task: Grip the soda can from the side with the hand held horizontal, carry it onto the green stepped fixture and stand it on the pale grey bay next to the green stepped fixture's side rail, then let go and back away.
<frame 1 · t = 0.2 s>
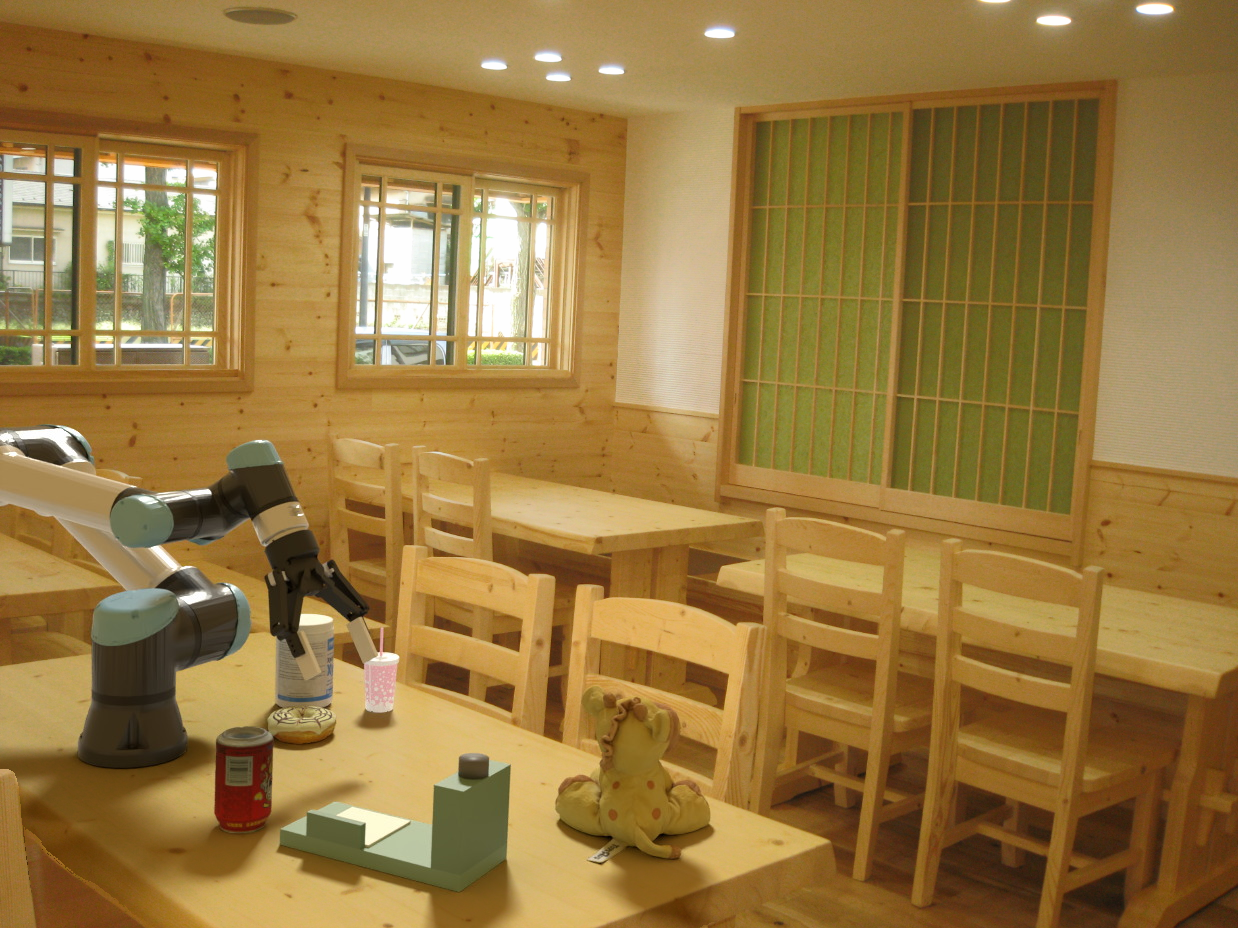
hand: (343, 667, 184), 14 cm above the table, tool tilted 35°, fingers open, 13 cm apart
supplement tub: (303, 704, 214), on the table
soda can: (242, 826, 161), on the table
beverage cup: (379, 709, 214), on the table
green stepped fixture: (392, 851, 155), on the table
decorated donut: (301, 736, 198), on the table
giraffe plush: (630, 829, 167), on the table
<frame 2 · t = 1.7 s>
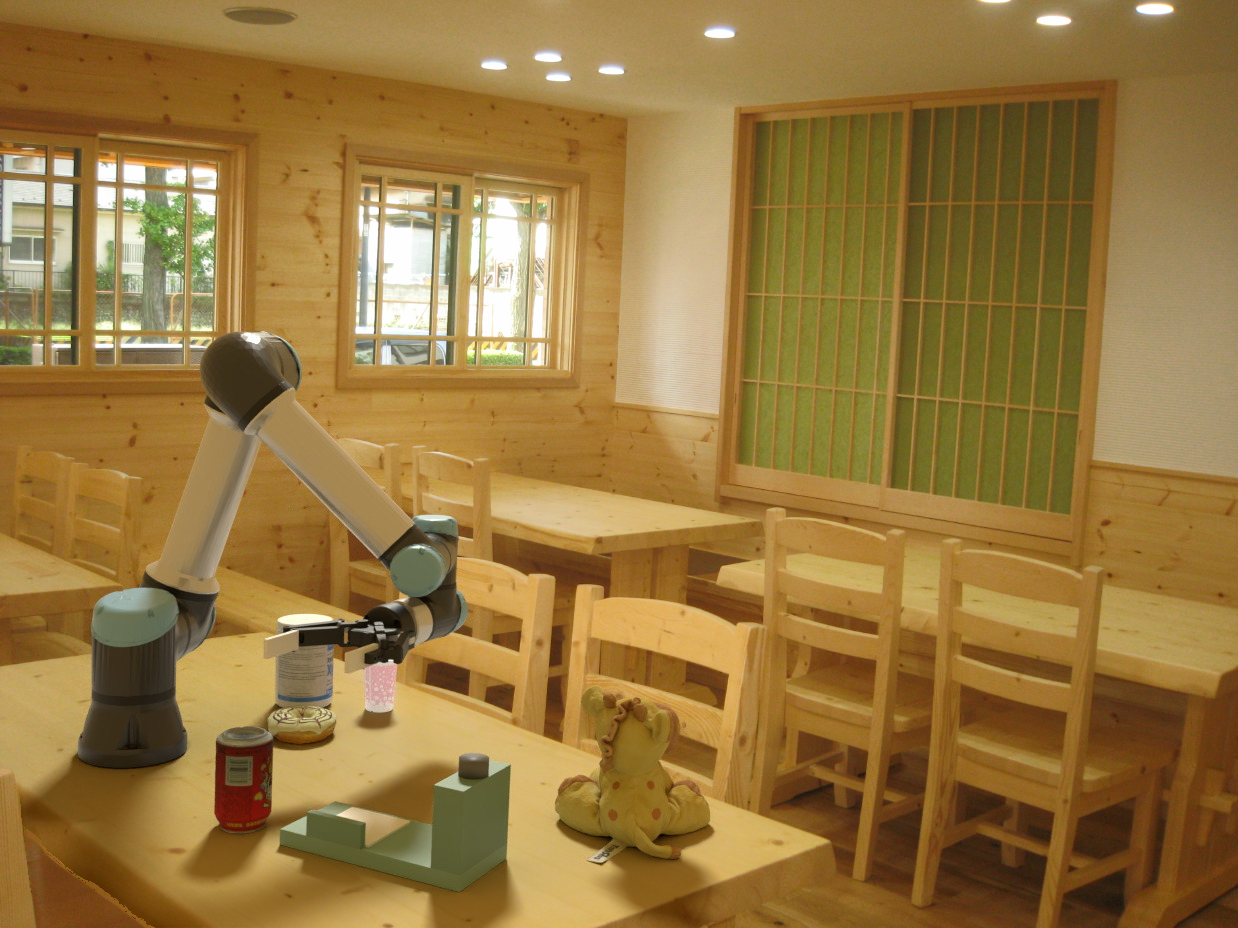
hand: (305, 655, 170), 20 cm above the table, tool horizontal, fingers open, 13 cm apart
nothing on the table moved.
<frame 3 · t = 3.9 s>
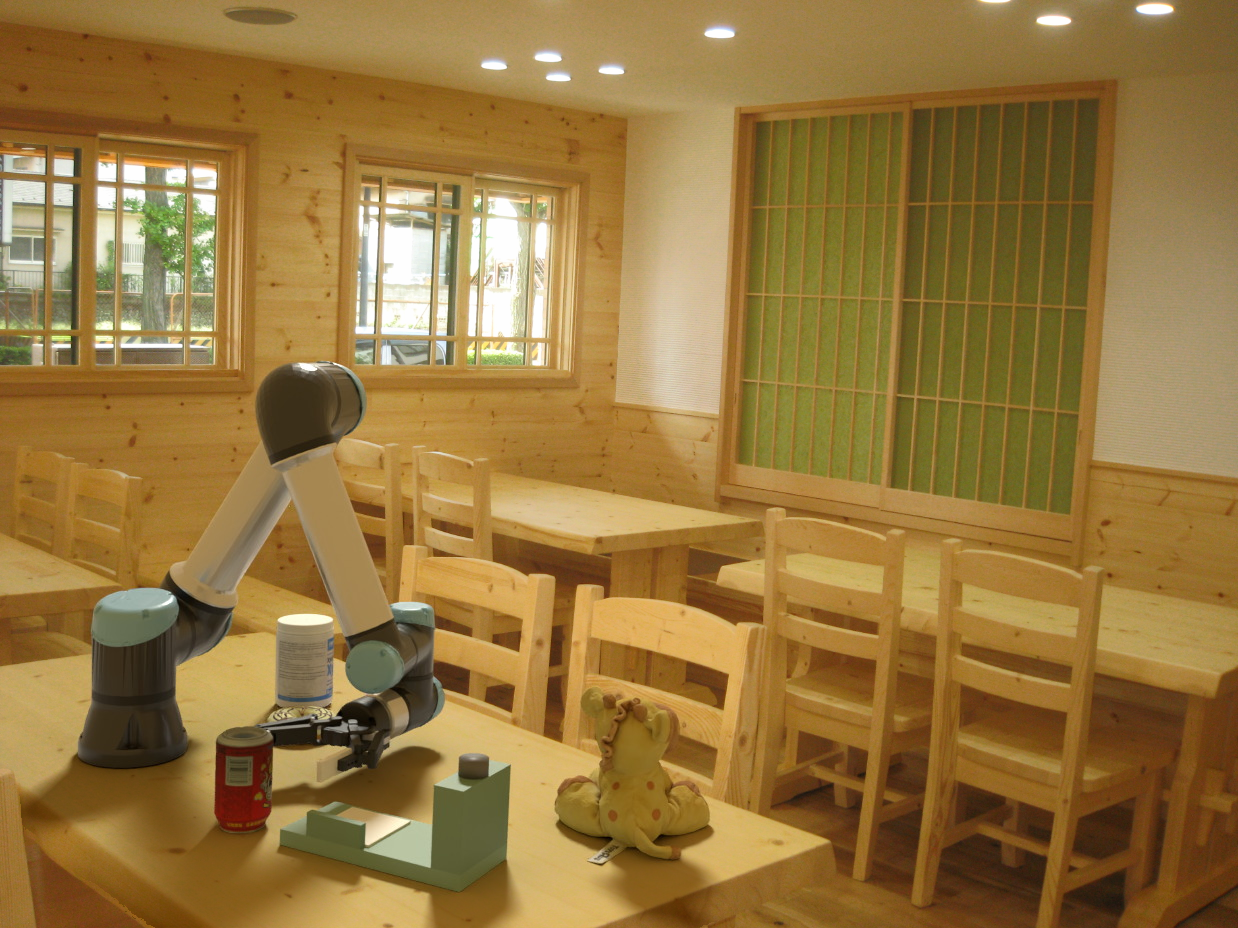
hand: (276, 762, 165), 7 cm above the table, tool horizontal, fingers open, 13 cm apart
nothing on the table moved.
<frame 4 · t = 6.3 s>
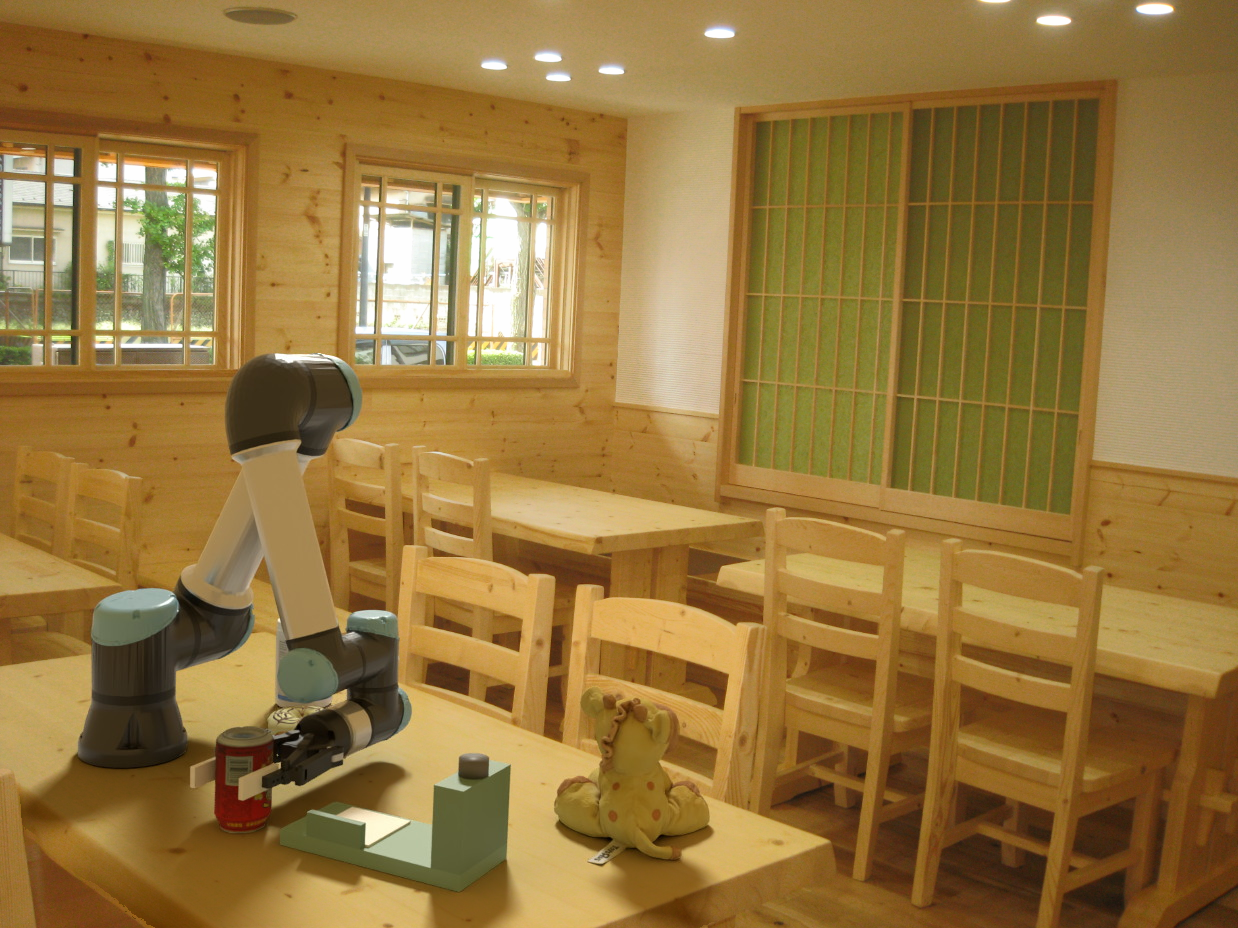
hand: (216, 783, 156), 7 cm above the table, tool horizontal, fingers closed on soda can, 7 cm apart
soda can: (242, 826, 161), on the table, touching gripper
everything else where it was.
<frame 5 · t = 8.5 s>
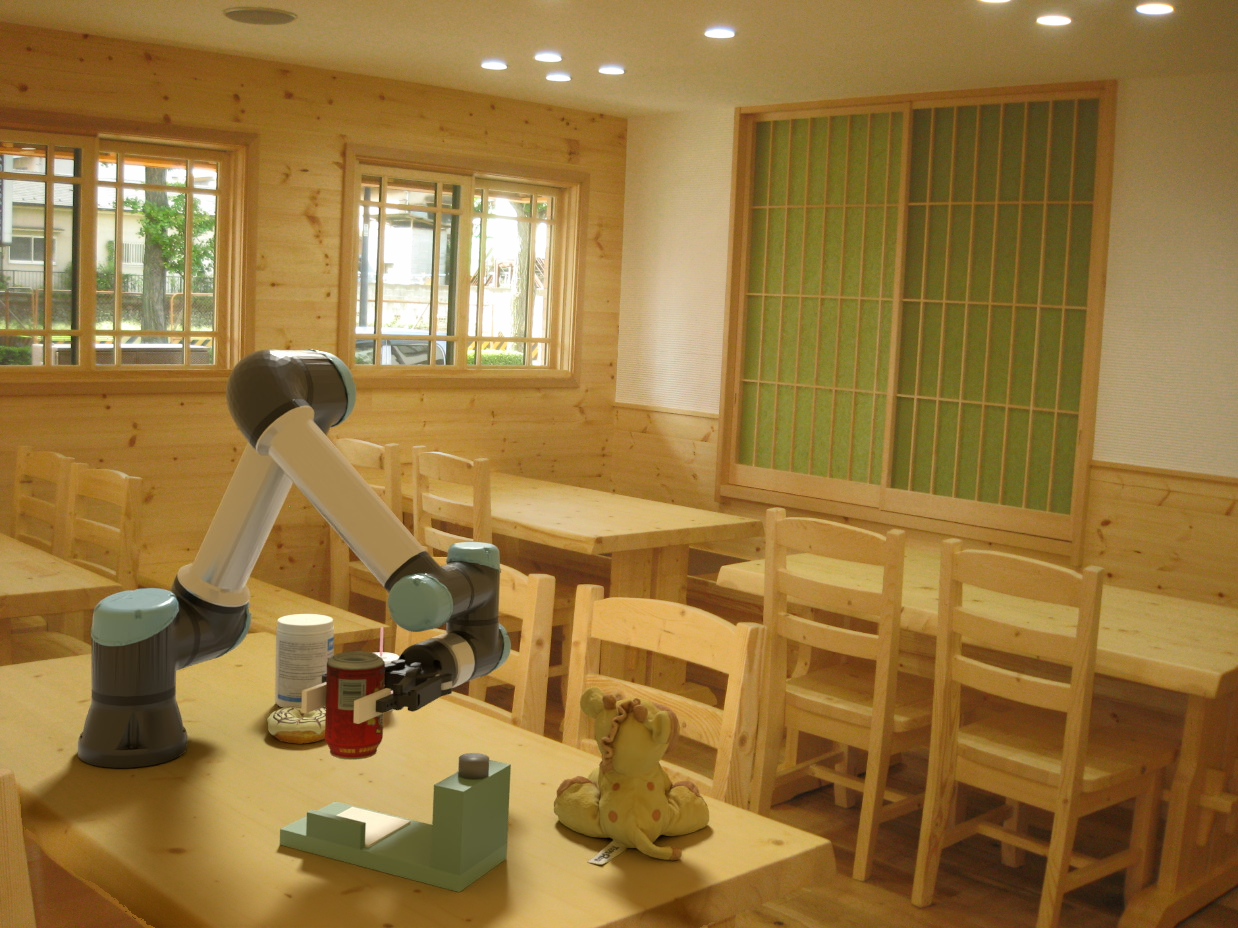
hand: (330, 706, 151), 19 cm above the table, tool horizontal, fingers closed on soda can, 7 cm apart
soda can: (353, 753, 156), point 11 cm above the table, touching gripper
everything else where it was.
when the fingers open (10 cm above the table, at t = 10.8 s): soda can drops 1 cm, resting on green stepped fixture.
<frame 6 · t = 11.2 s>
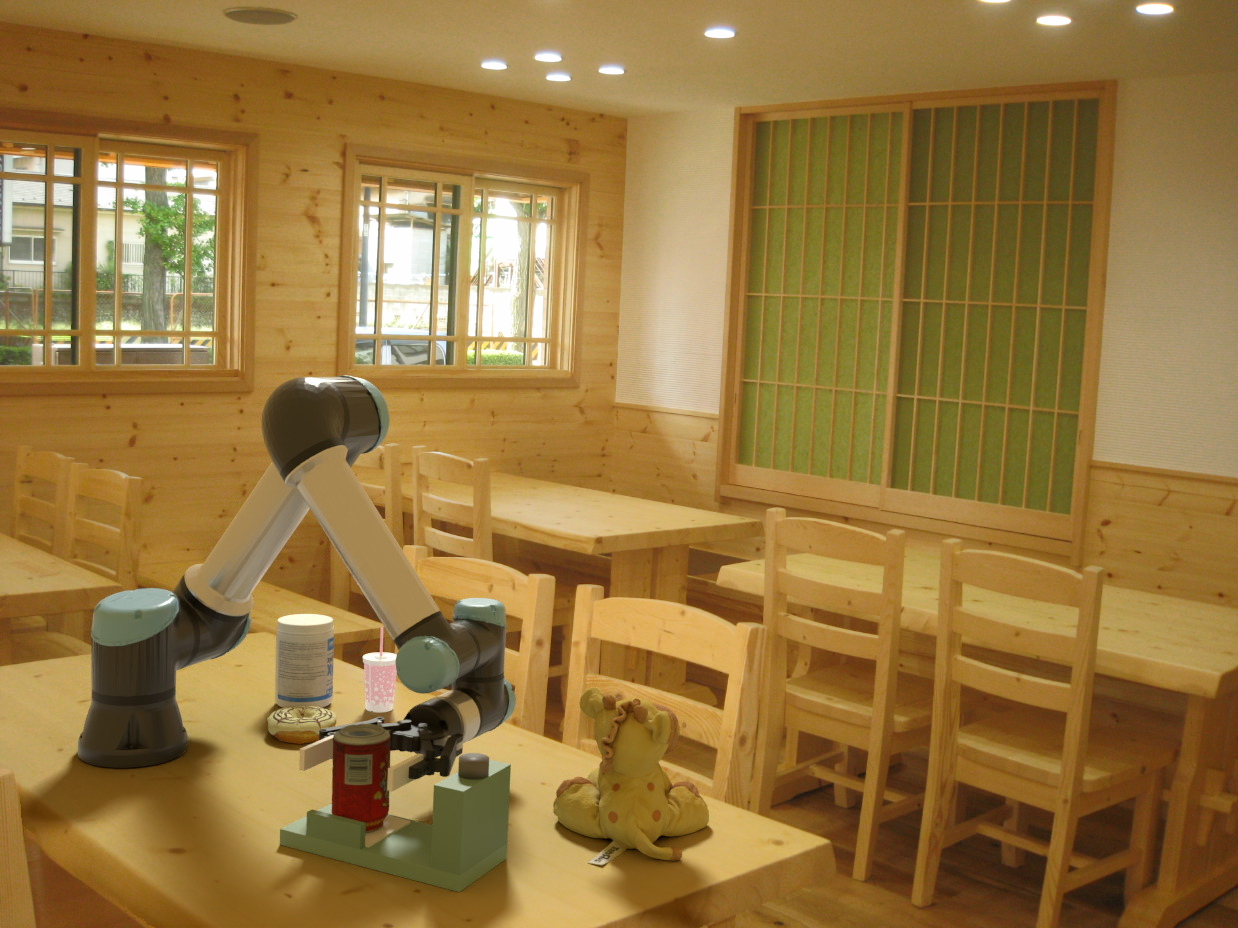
hand: (345, 769, 153), 10 cm above the table, tool horizontal, fingers open, 12 cm apart
soda can: (360, 826, 157), point 2 cm above the table, touching green stepped fixture
everything else where it was.
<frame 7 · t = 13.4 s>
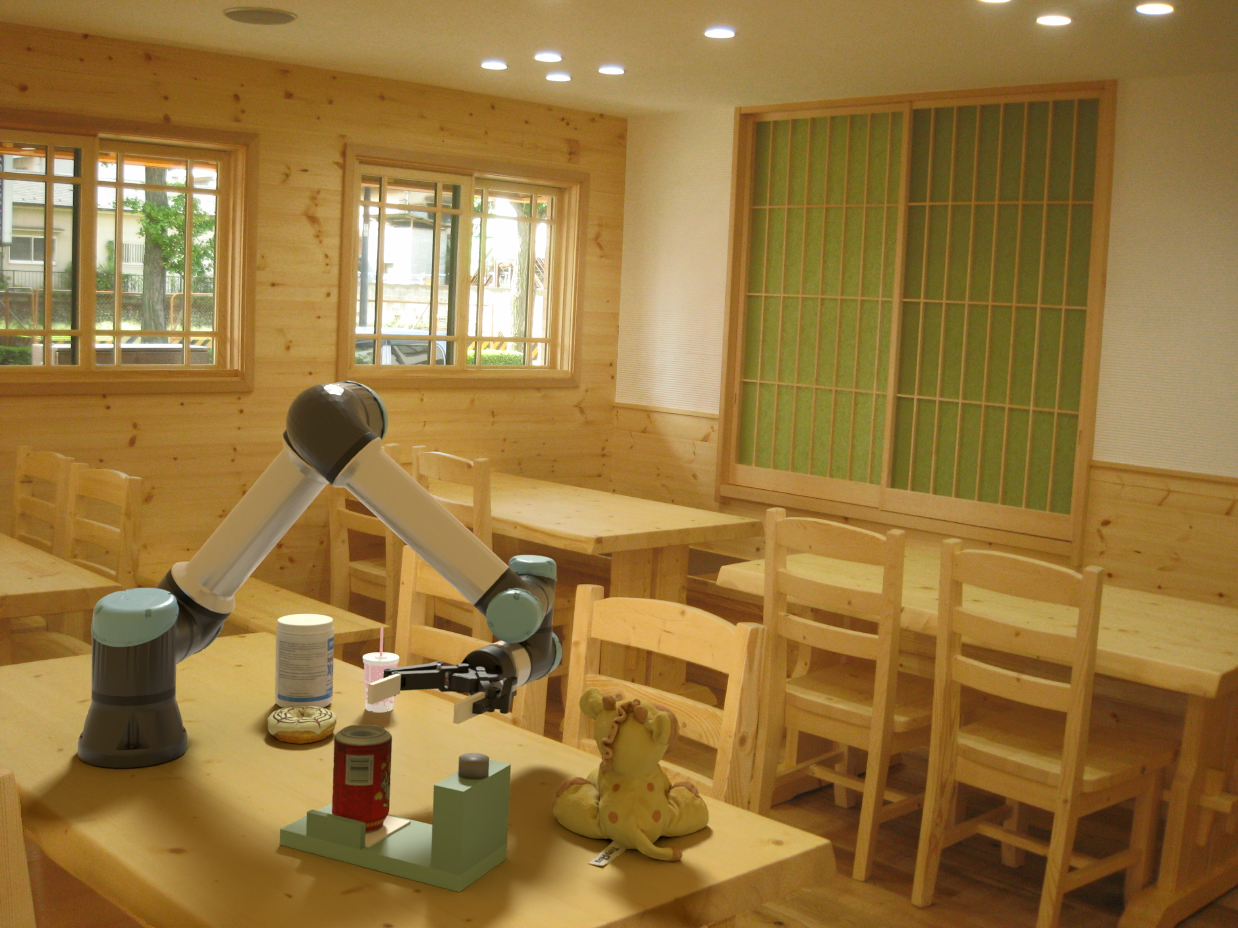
hand: (412, 703, 166), 15 cm above the table, tool horizontal, fingers open, 13 cm apart
nothing on the table moved.
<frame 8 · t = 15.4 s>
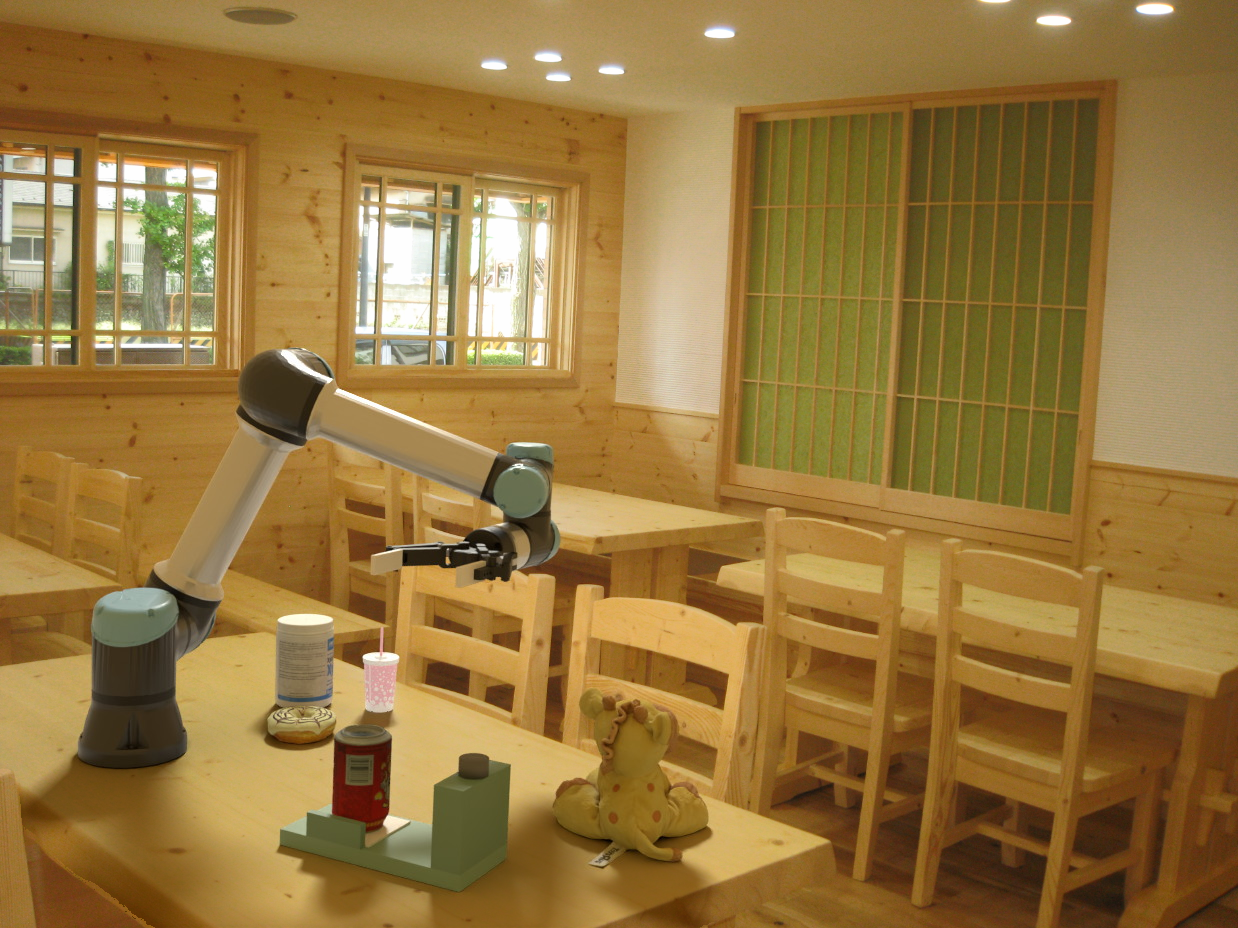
hand: (414, 571, 169), 32 cm above the table, tool horizontal, fingers open, 13 cm apart
at the end: soda can inside the target area (0.0 cm from its centre), point 2.1 cm above the table; soda can tilted 0°; the gripper is holding nothing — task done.
